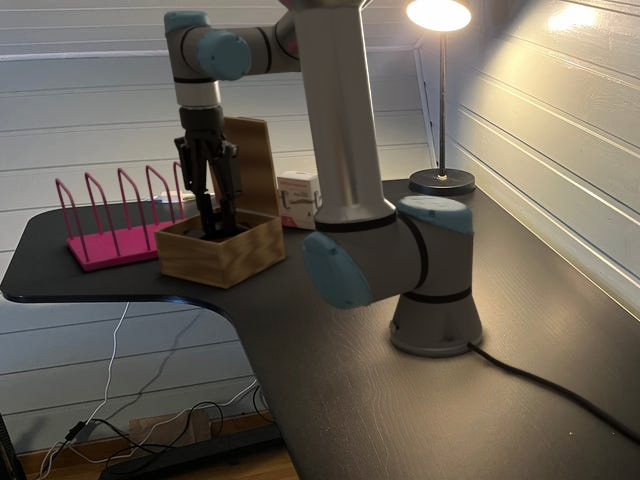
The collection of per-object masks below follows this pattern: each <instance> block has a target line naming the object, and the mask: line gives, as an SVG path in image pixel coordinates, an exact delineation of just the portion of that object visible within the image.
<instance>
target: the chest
mask: <svg viewBox="0 0 640 480" xmlns="http://www.w3.org/2000/svg"><path fill="white" fill-rule="evenodd" d="M216 208H220V205H217V206H215V207H212V209H214V210H215V211H216ZM236 212H237V213H236V215H235V221H236V223H239V222H247V223H248V224H249V225H250V226H251V227H252V229H250V230H248V231H246V232H244V233H241V234H239V235H237V236H235V237H229V238H223V239H217V240H211V241H205V240H201V239H196V238H191V237H186V236H185V235H184V234H183V231H187V230H194V229H200V228H202V222H201V216H200V212H199V213H197V214H194V215H192V216H189V217H186V219H185V218H184V220H181V221H179V222H176V223H174V224H171V225H168V226H166V227H163V228H161V229H158V230H155V231H153V233H154V237H155V242H156V247H157V252H158V257H157V258H158V261H159V262H158V263H159V267H160V272H161V274H162V275H165V276H169V277H174V278H179V279H182V280H187V281H191V282H196V283H200V284H205V285H209V286H212V287H217V288H220V289H226V290H228V289H229V288H231V287H233V286H236V285H237V284H238V283H240V282H243V281H244V280H246V279H249V278H250V277H252V276H253V275H256V274H258V273H259V272H262V271H264V270H265V269H267V268H269V267H271V266H273V265H274V264H275V265H276V264H277V263H279V262H281V261H283V260H284V259H286V252H285V243H284V235H283V223H282V217H280V216H276V215H270V214H265V213H259V212H254V211H249V210H243V209H238V208H236ZM222 223H223V222H222V221H219V222H215V225H220V224H222Z"/></svg>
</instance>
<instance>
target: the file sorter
mask: <svg viewBox="0 0 640 480" xmlns="http://www.w3.org/2000/svg"><path fill="white" fill-rule="evenodd" d="M177 166H178V167H179V168H180V169H181V165H180V161H177V160H176V161H173V164H172V169H173V170H172V171H173V177H174V184H175V188H176V195H177V200H178V201H177V202H178V206H179V212H180V219H176V218H175V212H174V207H173V202H172V201H173V200H172V197H171V191H170V187H169V185H168V183H167V181H166V179H165V177H164V176H163V175H161V173H159V172H158V171H156V169H155V168H153V167H152V166H151V165H149V164H146V165H145V175H146V176H145V177H146V182H147V187H148V192H149V197H150V203H151V208H152V212H153V217H154V222H155V223H151V224H146V220H145V215H144V209H143V205H142V201H141V196H140V192H139V189H138V187H137V185H136V183H135V182H134V180H133V179H132V178H131V177H130V176H129V175H128V174H127V172H126V171H125V170H124V169H123V168H122V167H118V168H117V172H116V173H117V178H118V184H119V189H120V193H121V199H122V204H123V208H124V214H125V219H126V225H127V228H122V229H116V230H115V228H114V225H113V224H114V223H113V222H112V221H113V220H112V217H111V213H110V210H109V209H110V208H109V205H108V201H107V198H106V195H105V192H104V189H103V187H102V185H101V184H100V183H99V181H97V180H96V179H95V177H93V176H92V174H91V173H90V172H88V171H85V172H84V181H85V185H86V188H87V191H88V195H89V199H90V203H91V206H92V209H93V213H94V218H95V221H96V224H97V228H98V231H99V232H98V233H97V232H96V233H92V234H85V235H83V230H82V227H81V223H80V222H81V221H80V219H79V215H78V214H79V213H78V211H77V208H76V203H75V200H74V197H73V195H72V194H71V191H70V190H69V189H68V188H67V186H66V185H65V184H64V183H63V182H62V181H61V179H60V178H58V177H56V178H55V179H54V182H55V186H56V191H57V195H58V199H59V201H60V205H61V209H62V213H63V217H64V221H65V224H66V228H67V231H68V235H69V237H68V238H66V243H67V247H68V248H69V250H70V251H71V252H72V254H73V255H74V257H75V258H76V260H77V262H79V264H80V265H81V267H82V269H83V270H84V272H89V271H90V272H91V271H95V270H99V269H100V270H101V269H104V268H105V269H106V268H109V267H114V266H119V265H125V264H129V263H134V262H140V261H146V260H150V259H155V258H159V257H158V252H157V247H156V242H155V237H154V233H153V231H155V230H158V229H161V228H163V227H166V226H168V225H171V224H174V223H176V222H179V221H181V220H184V219H186V218H187V217H186V218H185V214H184V209H183V204H182V197H181V191H180V184H179V179H178V173H177V172H178V171H177ZM149 170H150V171H151V173H153V174H154V175H155V176H156V177H157V178H158V179H160V181H162V183H163V185H164V188H165V191H166V197H167V202H168V207H169V213H170V219H171V220H169V221H162V222H159V221H158V215H157V210H156V209H157V208H156V204H155V199H154V194H153V188H152V183H151V178H150V171H149ZM122 176H123V177H124V178H125V179H126V180H127V181H128V182H129V184H130V185H131V186H132V187H133V190H134V193H135V196H136V201H137V206H138V210H139V215H140V220H141V225H139V226H133V227H132V225H131V219H130V216H129V215H130V214H129V210H128V204H127V200H126V195H125V190H124V185H123V180H122ZM90 181H91V182H92V183H93V184H94V185H95V186H96V187H97V188H98V190H99V193H100V195H101V198H102V202H103V206H104V209H105V213H106V217H107V220H108V225H109V228H110V231H109V230H108V231H104V232H103V229H102V224H101V222H100V217H99V213H98V210H97V207H96V203H95V202H96V201H95V198H94V195H93V192H92V188H91V184H90ZM61 188H62V190H63V191H64V192H65V193H66V194H67V197H68V198H69V201H70V206H71V208H72V211H73V212H72V213H73V217H74V220H75V225H76V227H77V231H78V235H79V236H75V237H74V235H73V234H74V233H73V231H72V227H71V223H70V218H69V216H68V213H67V209H66V205H65V202H64V198H63V194H62V190H61Z"/></svg>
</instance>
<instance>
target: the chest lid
mask: <svg viewBox="0 0 640 480" xmlns="http://www.w3.org/2000/svg"><path fill="white" fill-rule="evenodd" d="M224 122H225V125H224V128H223V134H224V136H225V138H226V141H228V142H229V143H231V144H238V145H239V154H238V160H239V167H240V175H241V182H242V189H243V195H242V196H239V197H237V198H235V205H236V209H238V210H244V211H249V212H255V213H260V214H265V215H271V216H276V217H280V216H282V214H281V207H280V199H279V192H278V184H277V176H276V171H275V170H276V169H275V165H274V158H273V152H272V146H271V140H270V134H269V127H268V126H269V125H268V122H267V121H266V120H265V119H259V118H252V117H244V116H237V117H235V116H227V115H224ZM223 151H224V149H223ZM215 159H217V158H215ZM207 166H208V169H209V174H210V180H211V183H212V188H213V192H214V198H215V202H216V205H217V206H220V202H219V200H220V199H221V198H222V195H221V192H220V189H219V186H218V183H217V181H216V178H215V175H214V172H213V169H212V166H211V165H210V164H209V163H208V162H207Z"/></svg>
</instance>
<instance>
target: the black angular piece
mask: <svg viewBox="0 0 640 480" xmlns="http://www.w3.org/2000/svg"><path fill="white" fill-rule="evenodd" d="M205 214H206V215H204V216H205V218H204V221H205V222H206V227H207V228H206V229H205V228H200V229H194V230H187V231H183V234H184V235H185V236H186V237H191V238H196V239H201V240H205V241H211V240H217V239H223V238H229V237H235V236H237V235H239V234H241V233H244V232H246V231H248V230H250V229H252V227H251V226H250V225H249V224H248V223H247V222H239V223H236V228H237V229H236V230H235V231H233V232H231V233H228V234H225V233H224V228H223V223H222V224H220V225H211V224H212V223H215V222H219V221H222V215H221V209H220V208H216V211H215V210H214V209H207V210H205Z"/></svg>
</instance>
